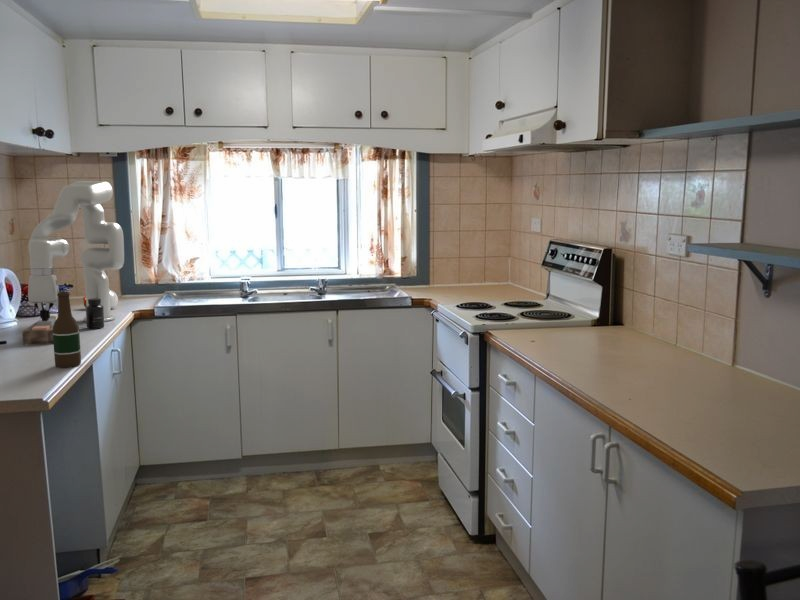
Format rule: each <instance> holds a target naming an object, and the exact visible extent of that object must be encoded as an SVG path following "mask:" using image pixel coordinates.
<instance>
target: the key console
mask: <svg viewBox="0 0 800 600" xmlns="http://www.w3.org/2000/svg"><path fill="white" fill-rule="evenodd" d="M35 326H37V321H36V322H34V323H32V324H31V325H30V326H28V327H26V328H25V329H24V330H22V331H21V332H22V345H23V346H24V345H25V344H28V345H44V344H45V345H47V344H46V343H53V327H50V329H49V330H37V331H32V328H33V327H35ZM53 344H54V343H53Z"/></svg>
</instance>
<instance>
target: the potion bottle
mask: <svg viewBox="0 0 800 600" xmlns="http://www.w3.org/2000/svg"><path fill="white" fill-rule="evenodd" d="M109 293H110V310H111V309H114V308H115V307H116V306H117V304H119V297H118V295H117V293H116V292H115V291H114V290H111V289H109ZM82 298H83V306H84V308H85V309H86V307H87V305H86V296H84V297H82Z"/></svg>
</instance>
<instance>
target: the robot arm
mask: <svg viewBox="0 0 800 600" xmlns="http://www.w3.org/2000/svg"><path fill="white" fill-rule="evenodd" d="M113 194H114V190H113V187H112V185H111V184H110V183H109V182H108V181H97V180H95V181H93V180H92V181H90V180H85V181H83V180H81V181H73V182H72V183H71V184H67V185H64V186H63V188H61V190H60V193H59V195H58V198H57V200H56V202H55V205H54V208H53V211H52V213H51V214H49V215H48V216H47V217H45V218H44V219H43V220H41V221H40V222H39V223H38V224H37V225H36V226H35V228H34V229H33V231H32V232H31V236H30V238H29V241H28V248H27V249H28V251H29V261H30V262H29V263H30V274H31V275H30V276H29V277H28V286H27V287H28V288H27V289H28V290H27V296H28V297H27V298H28V299H27V300H28V305H29V306H31V307H35V308H37V309H38V310H39V315H40V317H39V318H40V319H42V321H47V320H49V318H50V314H51V310H50V309H52V308H53V307H54V306H58V296H57V294H58V292H60V290H59V289H60V287H59V282H58V279H57V275H55V274H56V273H58V269H57V268H54V266H53V265H54V263H53V258H63V257H65V256H67V255H68V253H69V252H70V244H69V242H68V241H67V240H66V239H64V238H61V237H49V236H50V235H51V234H54V232H57V231H60V230H62V229H65V228H67V227H71V226H72V225H74V223H75V222H76V219H77V216H78V213H79V210H80V209H81V211H82V212H81V213H82V222H83V224H82V225H83V237H84V241H85V242H86V243H87V244H91V245H108V247H97V246H95V247H87V248H85V249H84V250H83V251H82V252H81V255H80V260H81V265H82V269H83V276H84V285H85V286H84V287H85V289H84V290H85V297H86V305H87V306H88V305H89V304H88V299H93V298H99V299H101V303H100V305H102V306H103V307H104V322H109V321H112V320H115V319H116V318H115V317H116V316H115V315H113V314H111V311H112V310H111V309H110V293H109V290H110V279H109V277H108V275H107V274H106V272H105V271H110V270H111V271H116V270H120V269H122V268H123V267H124V264H125V240H124V231H123V228H122V226H121V225H120V224H119V223H117V222H113V221H111V222H110V221H109V222H107V221H106V219H105V211H104V208H103V206H102V204H104V203H105V204H106V203H107V202H109V201H110V200H112V197H113ZM44 303H45V307H44ZM83 322H86V316H84V317H83Z"/></svg>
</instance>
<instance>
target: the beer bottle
mask: <svg viewBox="0 0 800 600" xmlns="http://www.w3.org/2000/svg"><path fill="white" fill-rule="evenodd" d="M70 295H71V293H70V292H69V291H66V290H65V291H59V292H58V294H57V296H58V305H57V307H58V308H57V314H58V318H57V319H56V321H55V323H54V326H53V355H54V357H53V358H54V365H55V367H56V368H58V367H61V368H60V369H66V368H65V367H72V368H75V367H79V366H80V365H81V364H82V355H81V354H82V353H81V339H80V327H79V324H78V321H77V320H76V318H75V317H74V316H73V314H72V310H71V309H72V307H71V300H70ZM62 367H63V368H62Z"/></svg>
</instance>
